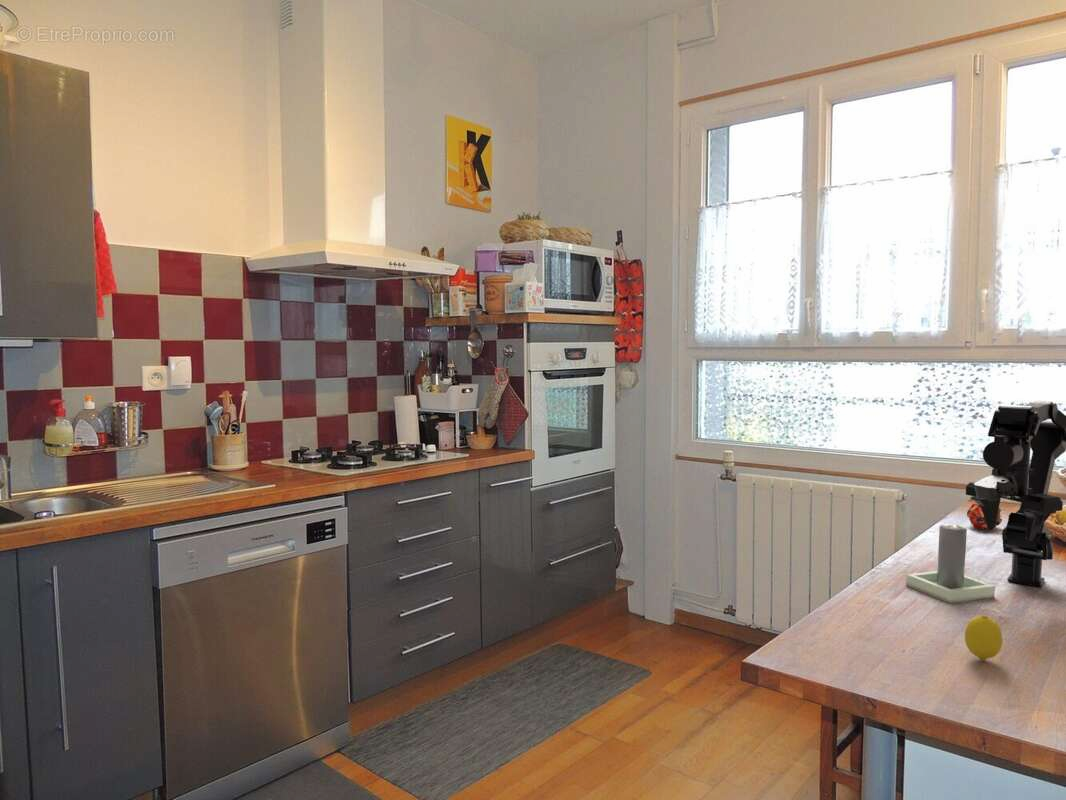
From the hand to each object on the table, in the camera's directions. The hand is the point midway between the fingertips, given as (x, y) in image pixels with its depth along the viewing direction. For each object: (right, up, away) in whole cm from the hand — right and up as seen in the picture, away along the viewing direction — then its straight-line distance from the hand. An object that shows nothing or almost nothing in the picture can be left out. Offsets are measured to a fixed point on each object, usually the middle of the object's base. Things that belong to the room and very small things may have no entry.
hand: (1009, 535), depth 162 cm
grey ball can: (-11, -12, +3) cm, 17 cm away
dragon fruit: (+29, -9, +58) cm, 65 cm away
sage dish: (-11, -13, +3) cm, 17 cm away
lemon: (-25, -16, -32) cm, 44 cm away
